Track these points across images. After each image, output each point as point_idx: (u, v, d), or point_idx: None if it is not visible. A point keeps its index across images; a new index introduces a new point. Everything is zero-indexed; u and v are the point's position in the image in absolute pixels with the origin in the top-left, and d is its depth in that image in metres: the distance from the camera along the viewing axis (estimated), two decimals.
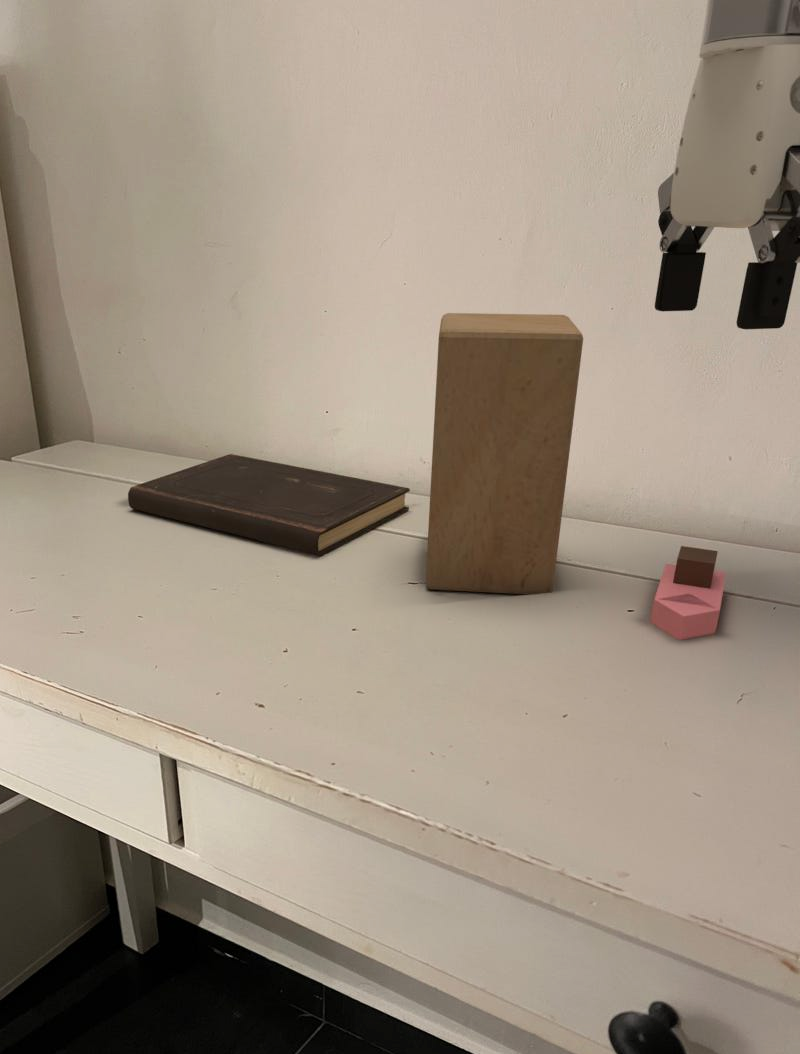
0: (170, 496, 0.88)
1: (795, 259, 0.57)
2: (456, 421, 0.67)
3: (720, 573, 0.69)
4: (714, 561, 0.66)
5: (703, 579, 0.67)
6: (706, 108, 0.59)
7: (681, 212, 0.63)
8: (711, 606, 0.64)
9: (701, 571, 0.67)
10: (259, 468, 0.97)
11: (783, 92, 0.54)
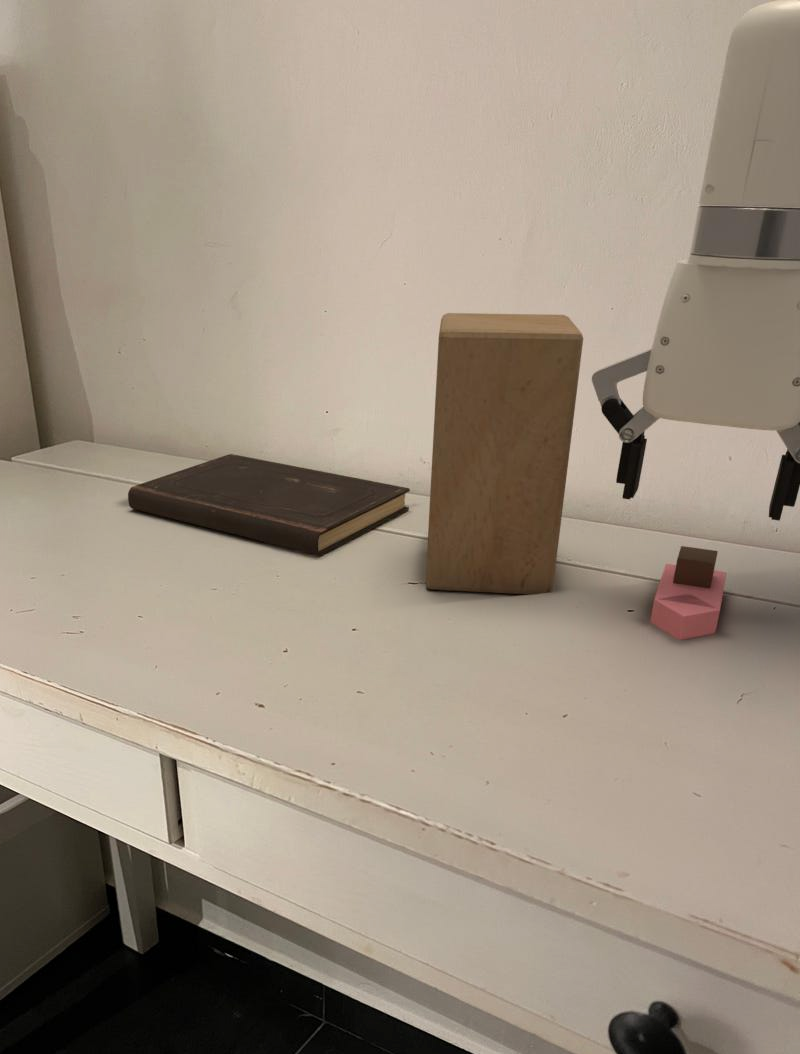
0: (170, 496, 0.88)
1: None
2: (456, 421, 0.67)
3: (720, 573, 0.69)
4: (714, 561, 0.66)
5: (703, 579, 0.67)
6: (716, 316, 0.57)
7: (672, 409, 0.61)
8: (711, 606, 0.64)
9: (701, 571, 0.67)
10: (259, 468, 0.97)
11: None
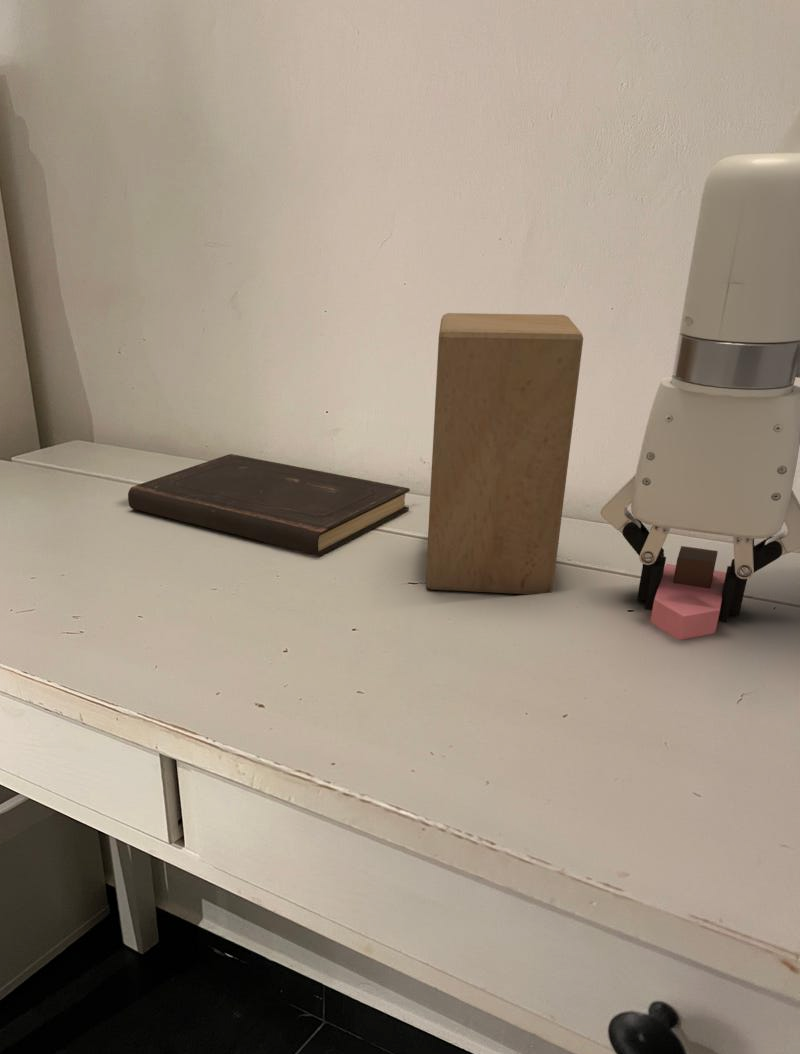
0: (170, 496, 0.88)
1: None
2: (456, 421, 0.67)
3: (720, 573, 0.69)
4: (714, 561, 0.66)
5: (703, 579, 0.67)
6: (698, 435, 0.61)
7: (659, 518, 0.64)
8: (711, 606, 0.64)
9: (701, 571, 0.67)
10: (259, 468, 0.97)
11: (797, 434, 0.59)
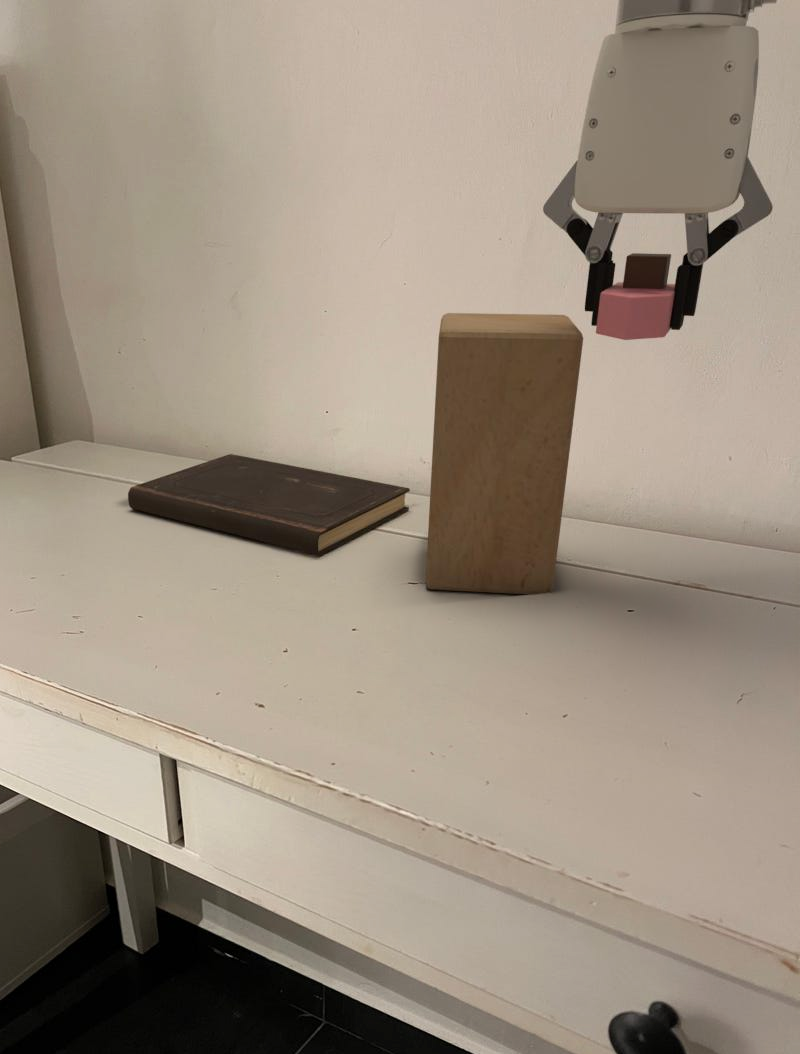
0: (170, 496, 0.88)
1: None
2: (456, 421, 0.67)
3: None
4: (666, 256, 0.61)
5: (655, 278, 0.61)
6: (643, 88, 0.55)
7: (604, 199, 0.59)
8: (662, 293, 0.58)
9: (652, 268, 0.61)
10: (259, 468, 0.97)
11: (751, 75, 0.54)
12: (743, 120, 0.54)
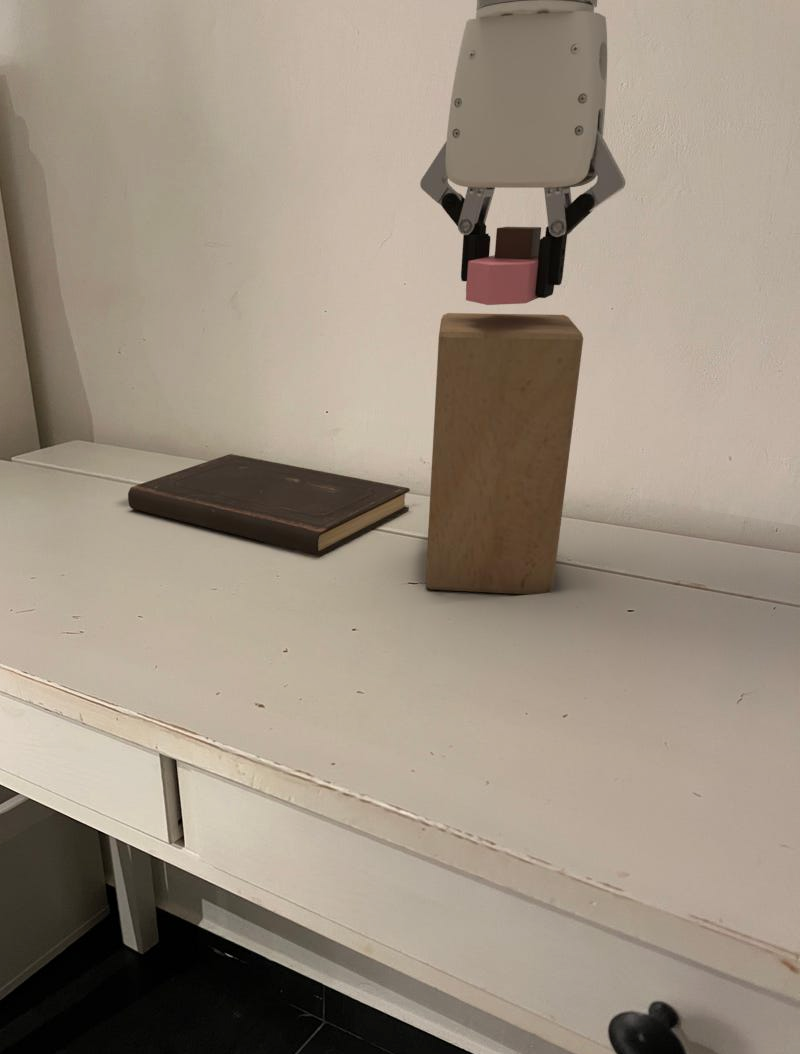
0: (170, 496, 0.88)
1: (566, 234, 0.65)
2: (456, 421, 0.67)
3: None
4: (532, 228, 0.65)
5: (522, 249, 0.65)
6: (499, 69, 0.59)
7: (471, 174, 0.63)
8: (522, 262, 0.63)
9: (520, 240, 0.65)
10: (259, 468, 0.97)
11: (596, 57, 0.58)
12: (590, 99, 0.58)
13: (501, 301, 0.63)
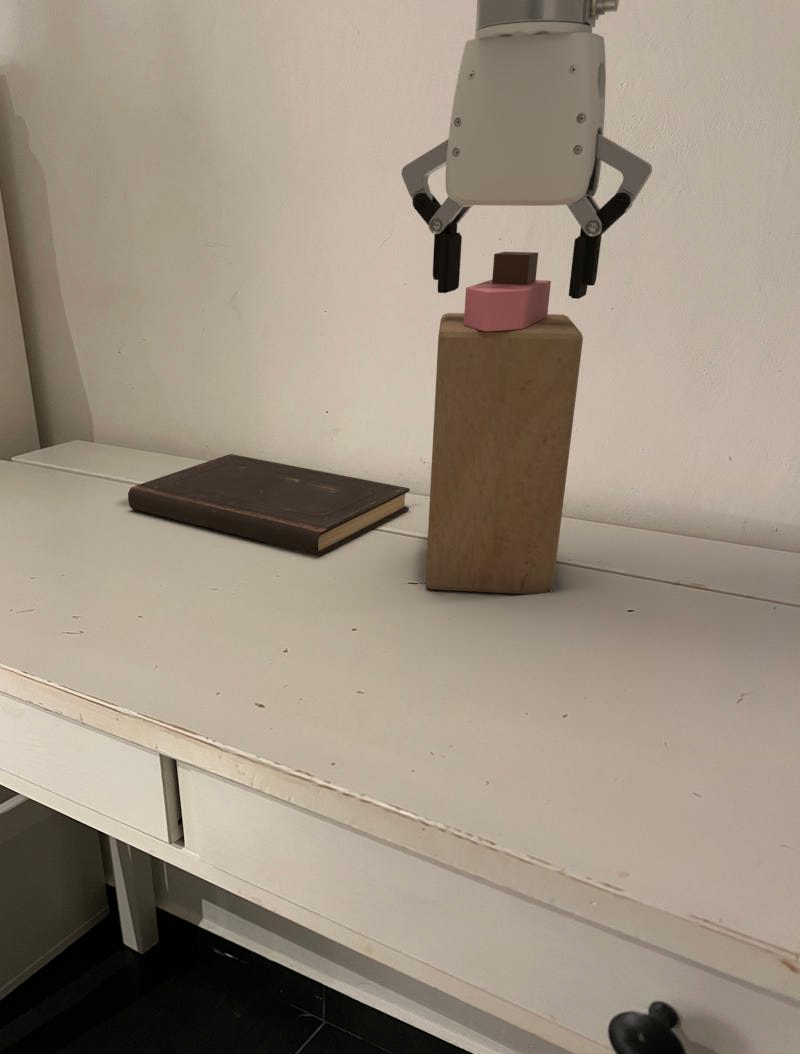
0: (170, 496, 0.88)
1: (604, 231, 0.64)
2: (456, 421, 0.67)
3: (544, 280, 0.69)
4: (529, 254, 0.66)
5: (519, 274, 0.66)
6: (499, 89, 0.60)
7: (471, 192, 0.64)
8: (519, 289, 0.63)
9: (517, 266, 0.66)
10: (259, 468, 0.97)
11: (594, 78, 0.58)
12: (588, 119, 0.59)
13: (498, 327, 0.63)
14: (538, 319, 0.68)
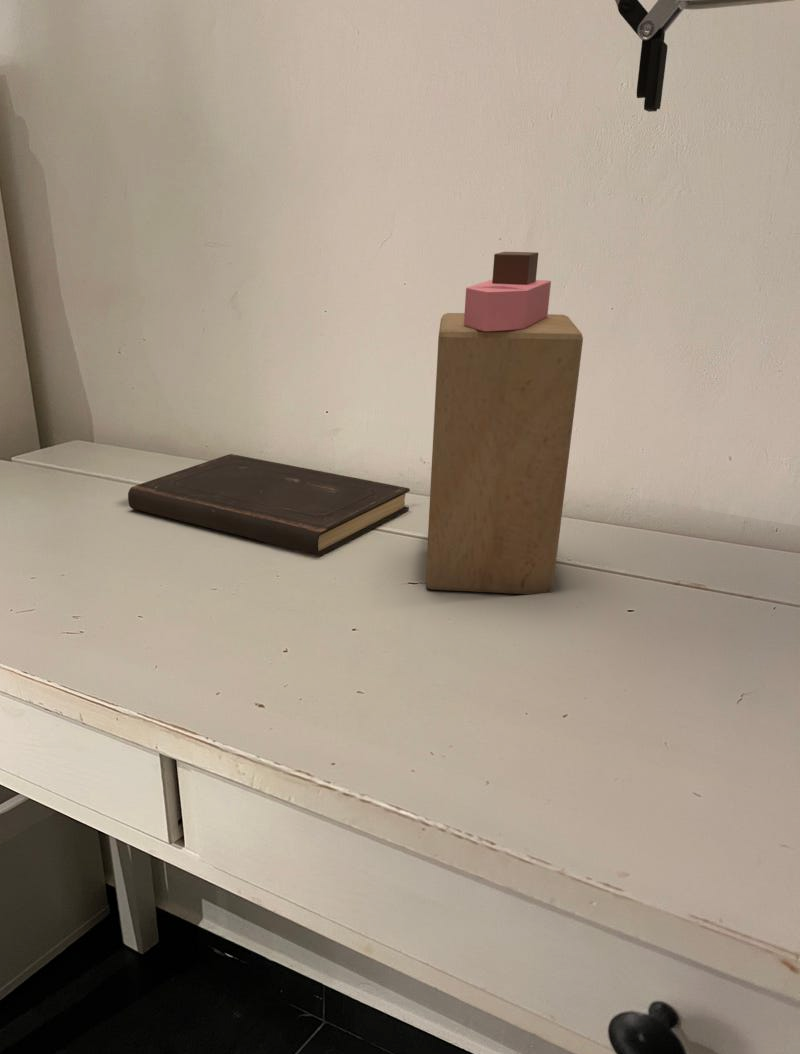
0: (170, 496, 0.88)
1: None
2: (456, 421, 0.67)
3: (544, 280, 0.69)
4: (529, 254, 0.66)
5: (520, 274, 0.66)
6: None
7: None
8: (520, 289, 0.63)
9: (517, 266, 0.66)
10: (259, 468, 0.97)
11: None
12: None
13: (498, 327, 0.63)
14: (538, 319, 0.67)
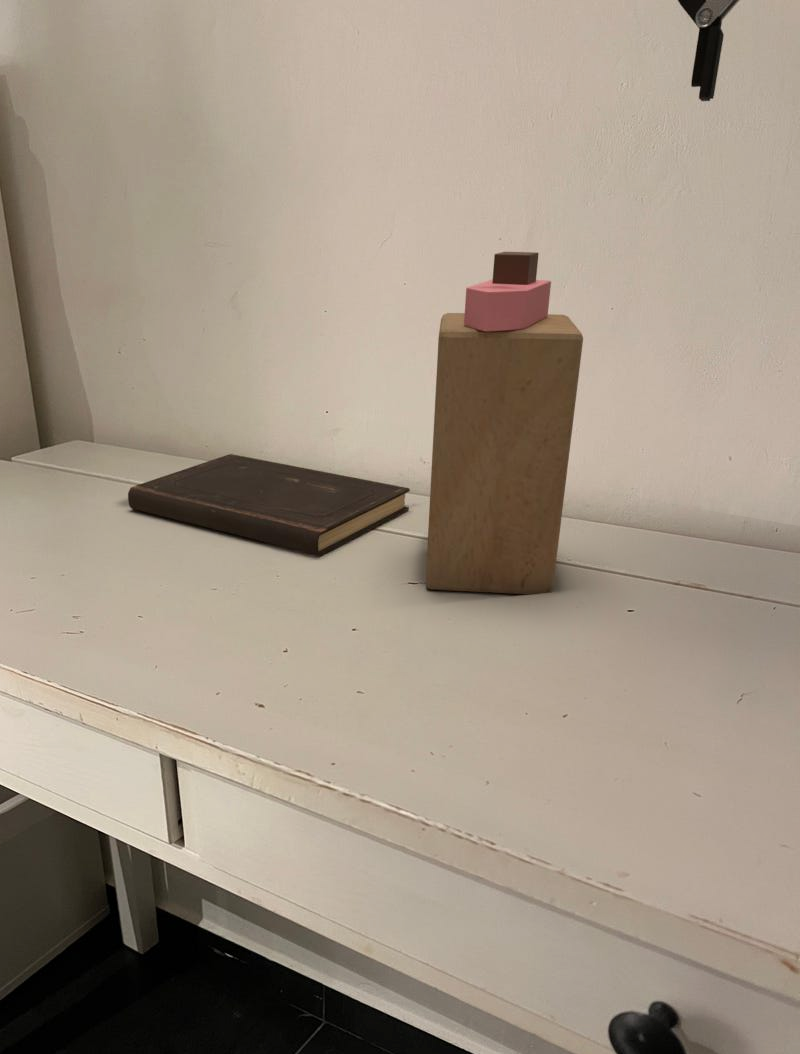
0: (170, 496, 0.88)
1: None
2: (456, 421, 0.67)
3: (544, 280, 0.69)
4: (530, 254, 0.66)
5: (520, 275, 0.66)
6: None
7: None
8: (520, 289, 0.63)
9: (517, 266, 0.66)
10: (259, 468, 0.97)
11: None
12: None
13: (499, 327, 0.63)
14: (538, 319, 0.67)
